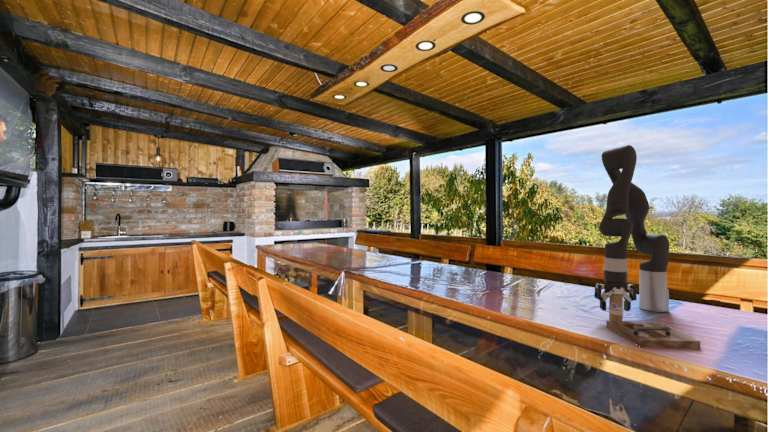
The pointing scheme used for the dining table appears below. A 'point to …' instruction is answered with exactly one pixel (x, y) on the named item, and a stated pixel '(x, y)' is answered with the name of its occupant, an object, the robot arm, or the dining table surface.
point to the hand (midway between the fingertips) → (614, 310)
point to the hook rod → (666, 328)
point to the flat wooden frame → (658, 337)
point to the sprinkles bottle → (616, 306)
